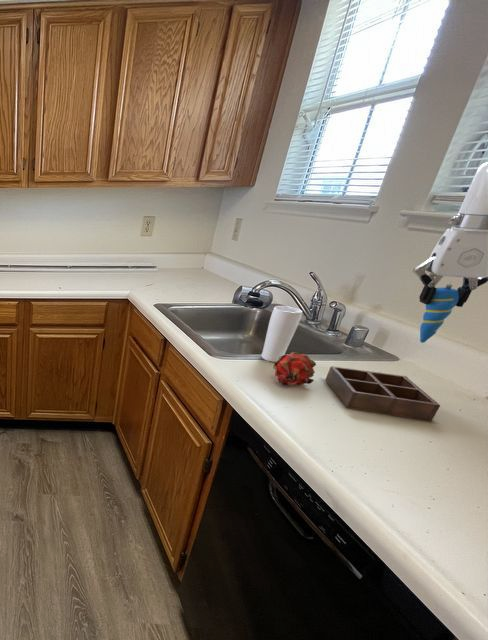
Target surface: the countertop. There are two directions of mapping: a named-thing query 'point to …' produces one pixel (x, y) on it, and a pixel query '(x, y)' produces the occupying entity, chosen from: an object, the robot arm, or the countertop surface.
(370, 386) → the divided tray
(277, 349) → the drinking glass
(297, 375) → the dragon fruit
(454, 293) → the ornament
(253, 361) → the countertop surface
